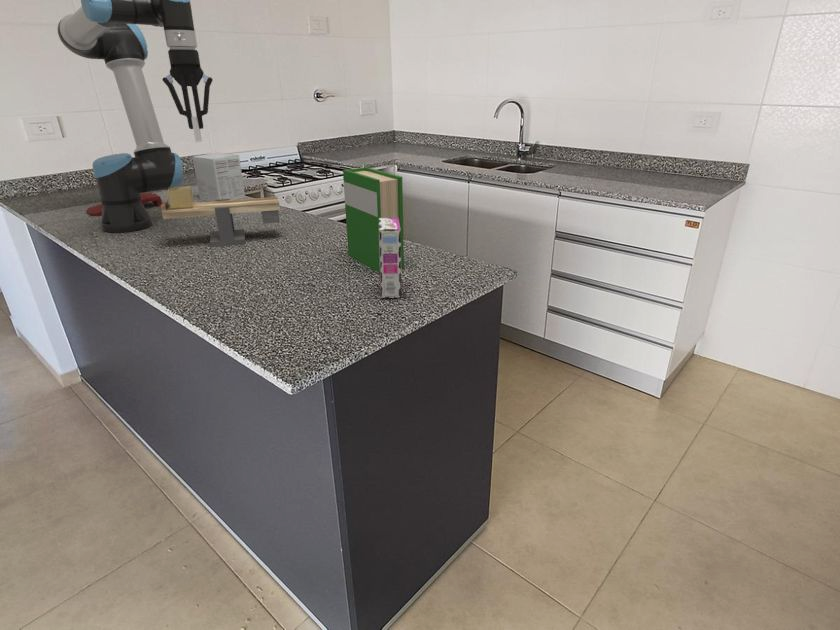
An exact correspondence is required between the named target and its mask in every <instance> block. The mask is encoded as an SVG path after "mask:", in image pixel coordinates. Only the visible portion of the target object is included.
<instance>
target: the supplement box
mask: <svg viewBox="0 0 840 630" xmlns="http://www.w3.org/2000/svg"><path fill="white" fill-rule="evenodd" d="M191 158H192V162H193V167H194V172H195V173H194V175H195V177H196V178H195V179H196V184H197V190H198V194H199V195H198V196H199V200H201V201H204V200H205V201H204V202H212V201H216V200H218V199H230V200H240V199H246V195H245V194H246V193H245V188H244V180H243V174H242V173H243V172H242V166H241V159H240V154H233V153H232V154H231V153H222V152H214V153H208V154H207V153H206V154H201V155H195V156H194V155H193V156H192V157H191Z"/></svg>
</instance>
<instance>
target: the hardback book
mask: <svg viewBox="0 0 840 630" xmlns="http://www.w3.org/2000/svg"><path fill="white" fill-rule="evenodd" d="M342 177H343V194H344V207H345V221H346V223H345V224H346V239H347V256H348V257H349V256H350V257H351V258H350V257H349V258H350V259H352V258H353V259H352V260H354V259H355V260H354V261H356V260H357V261H359V262H360V263H359V262H358V263H359V264H361V263H362V264H361V265H363V264H364V265H366V266H368V267H370V268H371V269H370V268H369V269H370V270H372V269H373V270H375V271H377V272H379V273H380V257H379V218H398V219H399V224H400V229H401V268H404V269H405V259H404V258H405V256H404V253H405V250H404V202H403V201H404V197H403V195H404V194H403V176H402V175H398V174H393V173H389V172H386V171H383V170H382V171H381V170H380V169H379V170H378V169H374V168H372V167H359V168H351V169H349V168H348V169H342ZM357 261H356V262H357ZM364 265H363V266H364ZM366 266H365V267H366ZM368 267H367V268H368ZM373 270H372V271H373ZM375 271H374V272H375ZM377 272H376V273H377ZM379 273H378V274H379Z"/></svg>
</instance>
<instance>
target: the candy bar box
mask: <svg viewBox="0 0 840 630" xmlns="http://www.w3.org/2000/svg"><path fill="white" fill-rule="evenodd" d="M379 257H380V274H379V281H380V282H379V285H380V298H381V299H382V298H389V297H401V298H402V269H401V229H400V224H399V219H398V218H379Z"/></svg>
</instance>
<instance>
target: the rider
mask: <svg viewBox="0 0 840 630" xmlns="http://www.w3.org/2000/svg"><path fill="white" fill-rule="evenodd" d="M166 192H167V196H168V203H169V204H170V207H171V210H177V209H191V208H194V206H195V205H194V203H195V201H194V195H193V190H192V186H191V185H186V186H182V185H181V186H178V187H169V188H168V190H166Z"/></svg>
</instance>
